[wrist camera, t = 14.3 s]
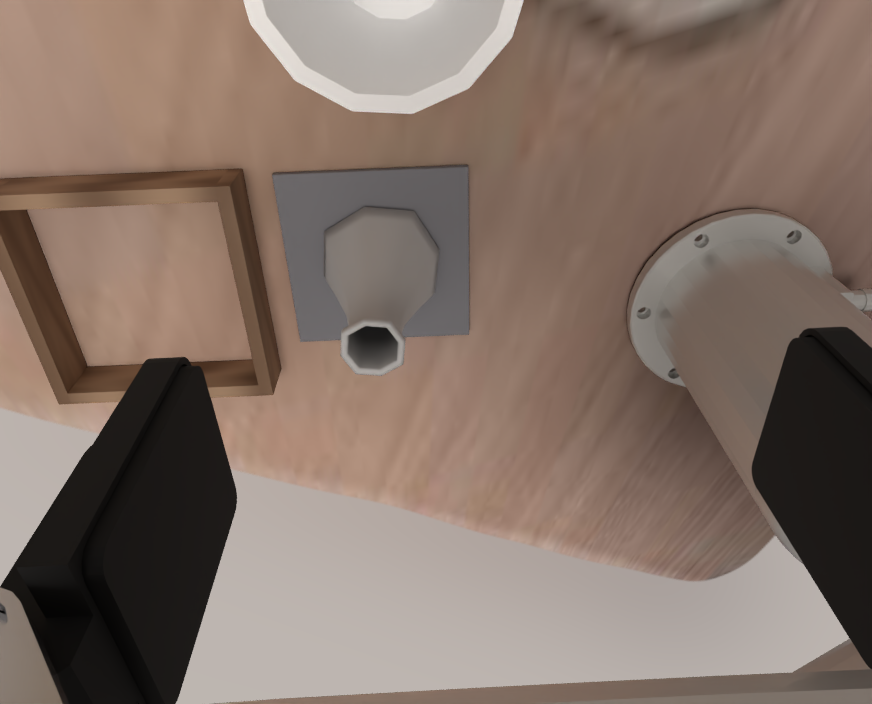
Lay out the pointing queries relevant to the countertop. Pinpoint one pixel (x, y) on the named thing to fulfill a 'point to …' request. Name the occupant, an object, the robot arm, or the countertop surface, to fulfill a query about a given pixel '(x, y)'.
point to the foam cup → (385, 47)
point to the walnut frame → (19, 247)
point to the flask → (379, 282)
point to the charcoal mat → (379, 188)
